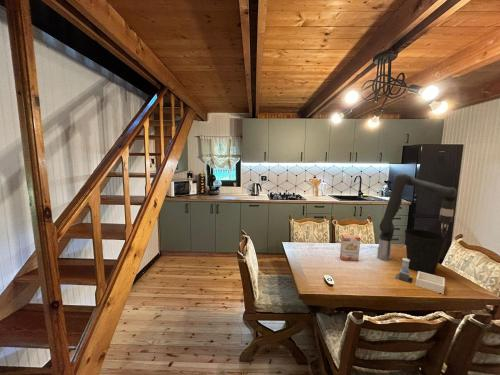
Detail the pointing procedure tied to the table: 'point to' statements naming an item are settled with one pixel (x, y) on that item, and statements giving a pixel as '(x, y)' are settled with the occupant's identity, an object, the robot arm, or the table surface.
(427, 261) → the bucket
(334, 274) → the table surface
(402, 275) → the knob
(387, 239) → the robot arm
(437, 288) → the parts tray
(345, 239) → the cracker box
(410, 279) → the stud mount
